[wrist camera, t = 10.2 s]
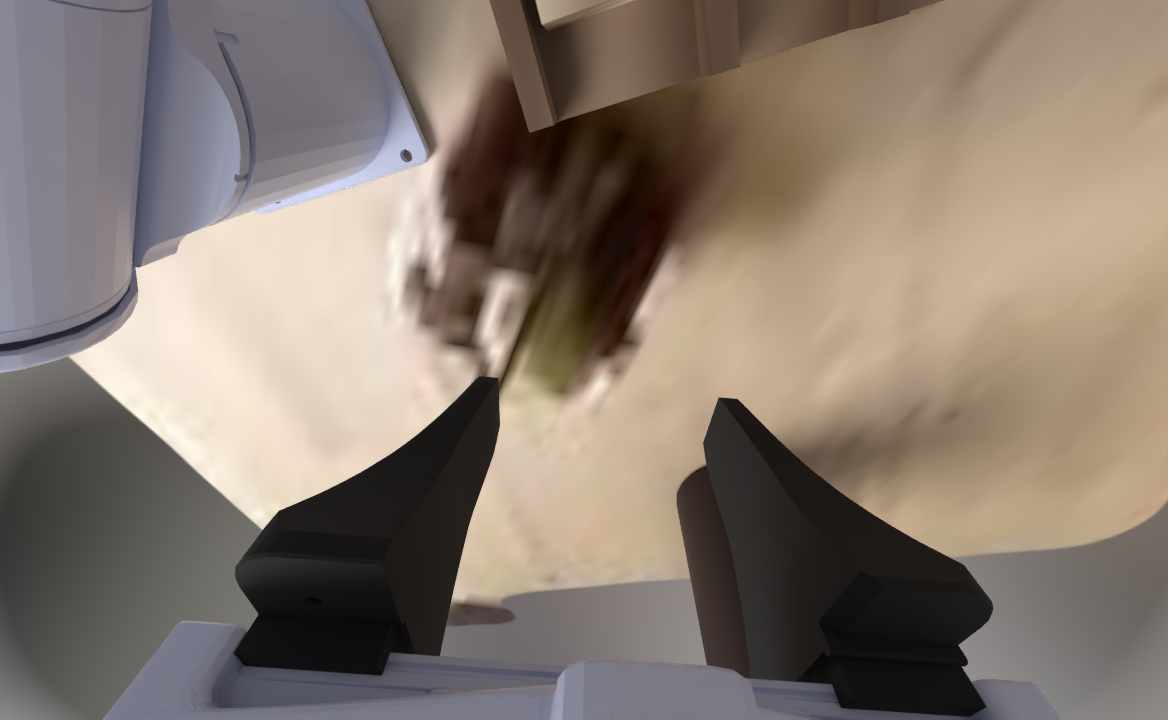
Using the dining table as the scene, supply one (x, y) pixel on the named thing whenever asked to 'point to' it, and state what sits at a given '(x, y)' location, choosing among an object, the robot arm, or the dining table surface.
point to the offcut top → (567, 9)
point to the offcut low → (587, 14)
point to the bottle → (712, 575)
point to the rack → (659, 45)
